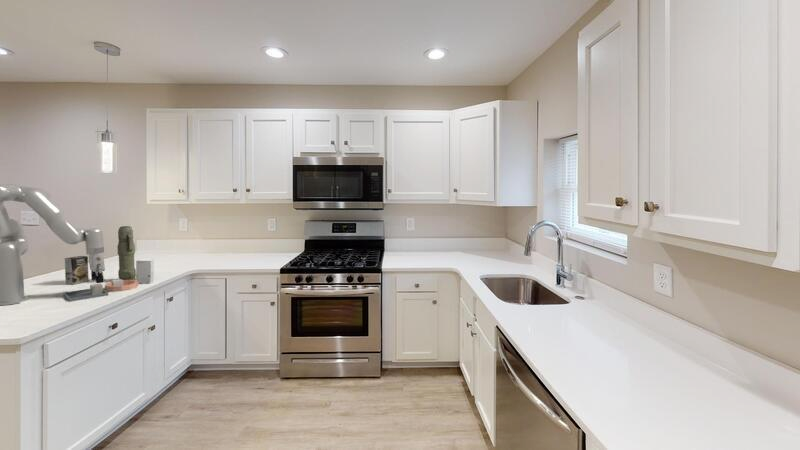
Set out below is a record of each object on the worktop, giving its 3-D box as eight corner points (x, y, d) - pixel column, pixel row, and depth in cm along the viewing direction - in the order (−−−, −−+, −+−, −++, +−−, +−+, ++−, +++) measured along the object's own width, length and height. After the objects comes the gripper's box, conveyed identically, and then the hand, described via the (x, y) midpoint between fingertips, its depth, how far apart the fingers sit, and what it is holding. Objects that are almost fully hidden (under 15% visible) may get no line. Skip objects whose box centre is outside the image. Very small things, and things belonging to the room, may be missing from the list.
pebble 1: (92, 295, 198) (92, 286, 198) (90, 293, 201) (89, 284, 201) (102, 293, 202) (102, 284, 201) (100, 292, 204) (100, 283, 204)
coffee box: (73, 284, 219) (72, 258, 217) (65, 284, 220) (63, 257, 218) (89, 281, 227) (88, 256, 226) (81, 280, 229) (79, 255, 227)
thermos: (126, 283, 226) (124, 227, 223) (114, 280, 230) (111, 226, 227) (140, 280, 234) (139, 226, 231) (128, 278, 238) (126, 225, 235)
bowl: (109, 293, 203) (109, 287, 203) (102, 288, 212) (102, 283, 212) (141, 288, 215) (140, 283, 215) (132, 284, 224) (132, 278, 224)
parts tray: (69, 302, 187) (69, 298, 186) (63, 296, 197) (63, 292, 196) (108, 296, 199) (108, 292, 199) (100, 290, 209) (100, 287, 209)
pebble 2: (114, 290, 208) (113, 281, 207) (111, 288, 210) (111, 280, 210) (123, 288, 211) (123, 280, 211) (121, 287, 214) (120, 279, 213)
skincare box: (135, 284, 225) (134, 260, 223) (139, 281, 231) (138, 258, 229) (151, 283, 227) (150, 260, 226) (154, 281, 233) (154, 258, 232)
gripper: (108, 251, 197) (110, 282, 199) (99, 248, 207) (102, 277, 209) (90, 253, 191) (93, 285, 193) (82, 250, 202) (85, 280, 203)
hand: (97, 281), depth 201 cm, fingers open, 9 cm apart
